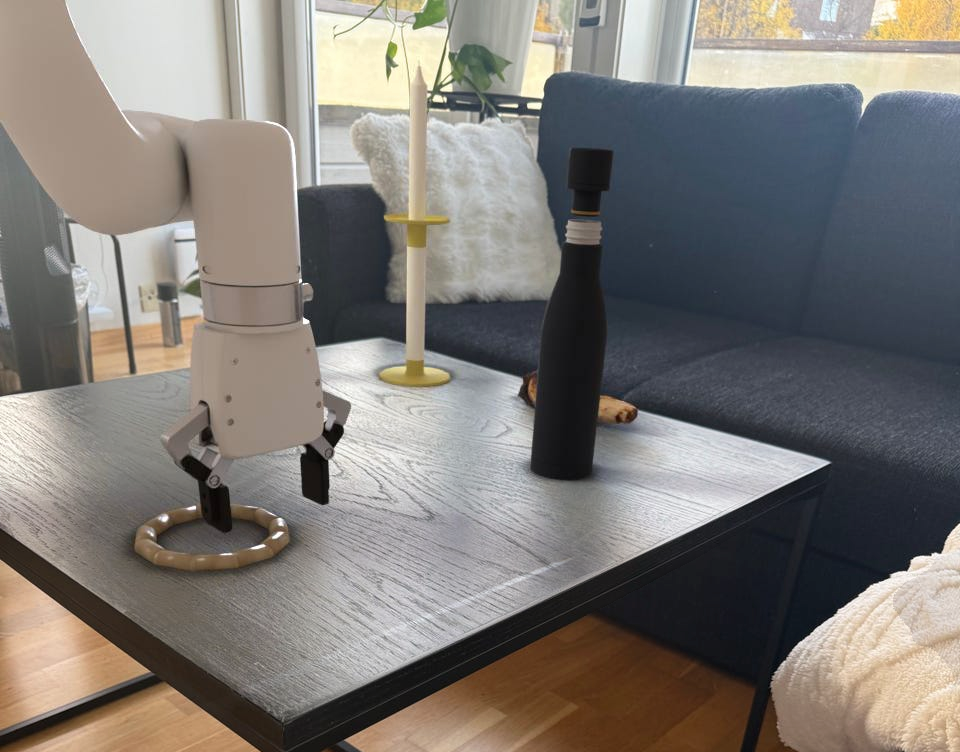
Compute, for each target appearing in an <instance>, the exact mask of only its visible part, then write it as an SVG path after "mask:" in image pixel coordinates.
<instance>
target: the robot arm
mask: <svg viewBox="0 0 960 752" xmlns="http://www.w3.org/2000/svg"><path fill="white" fill-rule="evenodd" d="M0 124H1V125H2V128H4V130H5V132H6V134H7V135H8V136H9V138H10V140H11V141H12V143H13V145H14V146H15V148H16V149H17V151H18V152H19V154H20V156H21V157H22V158H23V160H24V162H25V163H26V165H27V167H28V168H29V169H30V171H31V172H32V174H33V176H34V177H35V178H36V180H37V182H38V183H39V184H40V185H41V187H42V188H43V189H44V191H45V192H46V193H47V195H48V196H49V198H50V199H51V200H52V201H53V202H54V203H55V204H56V205H57V206H58V207H59V208H60V209H61V211H63V212H64V214H66V215H67V216H68V217H69V218H70V219H72V220H73V221H74V222H76V223H77V224H79V225H80V226H82V227H84V228H86V229H87V230H89V231H92V232H95V233H97V234H98V233H99V234H102V235H107V236H123V235H130V234H134V233H137V232H141V231H144V230H149V229H154V228H158V227H163V226H167V225H171V224H175V223H183V222H192V221H193V228H194V237H195V239H194V240H195V249H196V258H197V267H198V277H199V286H200V294H201V304H202V313H203V322H199V323H195V324H194V325H193V331H192V338H191V348H190V361H189V362H190V364H189V365H190V366H189V387H190V388H189V389H190V391H189V392H190V394H189V395H190V411H188V412H187V413H186V414H185V415H184V416H182V417H181V418H180V419H179V420H177V421H176V422H175V423H174V424H173V425H171V426H170V427H169V428H168V429H166V430H165V431H164V432H163V433H162V434H160V437H159V441H160V443H161V445H162V446H163V448H164V449H165V451H166V452H167V453H168V454H169V456H170V458H172V460H173V462H174V464H175V465H176V467H178V468H180V469H181V470H182V471H184V472H185V473H186V474H187V475H189V476H190V477H191V478H192V479H194V480H196V481H197V487H198V494H199V495H198V496H199V505H201V512H202V516H203V518H202V519H203V520H204V521H205V522H206V523H207V525H209V526H211V527H212V528H214V529H216V530H217V531H219V532H221V533H223V534H227V533H231V532H232V530H233V517H232V516H231V506H230V503H231V497H230V495H231V494H230V489H229V487H228V485H226V484H224V483H222V482H223V480H224V479H225V477H226V475H227V473H228V472H229V470H230V469H231V466H232V465H233V463H234V461H236V460H243V459H248V458H252V457H257V456H262V455H266V454H271V453H275V452H280V451H285V450H288V449H292V448H297V447H300V446H301V447H302V448H303V449H304V450H305V452H301V453H300V457H299V465H300V467H299V468H300V480H301V483H300V484H301V494H302V497H303V498H305V499H308V500H309V501H312V502H314V503H316V504H318V505H320V506H326V505H329V504H330V492H329V491H330V487H331V486H330V463H329V461H330V460H332V459H333V458H334V457H335V454H336V451H335V449H336V446H337V445H338V444H339V442H340V440H341V439H342V438H343V436H344V434H345V428H344V426H345V425H346V424H347V421H348V418H349V415H350V412H351V409H352V404H351V402H350V401H348V400H346V399H344V398H341V397H339V396H337V395H335V394H333V393H330V392H327V391H326V390H324V389H323V383H322V373H321V369H320V361H319V356H318V351H317V346H316V342H315V338H314V334H313V330H312V326H311V323H310V321H309V320H308V319H306V318H304V313H305V307H304V305H305V302H311V301H313V299H314V289H313V287H312V285H311V284H310V283H306V282H305V283H303V278H302V265H301V262H302V261H301V243H300V242H301V241H300V224H299V222H300V221H299V204H298V186H297V185H298V183H297V166H296V152H295V144H294V140H293V138H292V136H291V134H290V132H289V131H288V129H286V127H284V126H282V125H281V124H279V123H276V122H272V121H265V120H253V119H237V118H235V119H233V118H231V119H230V118H206V119H200V120H191V119H187V118H183V117H177V116H173V115H169V114H164V113H159V112H153V111H146V110H145V111H141V110H139V111H138V110H132V109H121V108H120V107H119V105H118V104H117V102H116V100H115V98H114V97H113V95H112V93H111V91H110V90H109V88H108V87H107V85H106V83H105V81H104V79H103V77H102V76H101V75H100V73H99V71H98V70H97V68H96V66H95V64H94V63H93V60H92V59H91V57H90V55H89V53H88V52H87V49H86V47H85V46H84V43H83V41H82V39H81V37H80V35H79V33H78V30H77V29H76V26H75V24H74V21H73V19H72V15H71V13H70V10H69V6H68V2H67V0H0ZM325 409H327V415H326V420H325ZM193 439H194V442H195V443H196V445H198V446H199V447H201V450H200V452H199V454H198V456H197V457H195V456H194V454H193V453H192V451H191V450H190V447H189V443H190V442H191V441H192V440H193Z"/></svg>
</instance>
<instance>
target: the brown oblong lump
mask: <svg viewBox="0 0 960 752" xmlns="http://www.w3.org/2000/svg"><path fill="white" fill-rule="evenodd" d="M537 374H538V370H535V371H532V370H531V371H530V372H528V373H527V374H525V375H522V376H521V378H522V384H520V387H519V391H518V393H517V397H519V398H520V399H521V400H522V401H523V402H524V403H525V405H526V406H529V407H535V400H536V387H537ZM638 413H639V410H638V408H637V407H636V406H634V405H633V404H631V403H628V402H625V401H622V400H619V399H617V398H614V397H612V396H608V395H600V404H599V412H598V421H597V424H598V423H599V424H606V425H620V424H622V423H623V424H625V425H627V424H631V423H633V422H634V421H635V420H636V419H637V418H638Z"/></svg>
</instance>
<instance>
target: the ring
mask: <svg viewBox="0 0 960 752" xmlns="http://www.w3.org/2000/svg"><path fill="white" fill-rule="evenodd" d="M230 506H231V516H232V519H239V520H245V521H246V520H248V521H253V522H254V523H256V524H258V525H260V526H261V527H263V528H265V529H267V530H268V537H267V538H265V540H263V541H262V542H260V544H257V545H254V546H251V547H246V548H244V549H240V550H237V551H234V552H228V553H227V552H226V553H211V554H190V553H184V552H179V551H172V550H168V549H166V548H163V546H161V545H159V544H158V543H157V539H158V538H157V537H158V536H159V535H160V534H162V533H163V532H164V531H166V530H168V529H169V528H170V527H172V526H174V525H177V524H182V523H184V522H185V523H186V522H189V521H193V520H196V519H204V518H203V516H202V512H201V504H193V505H188V506H184V507H181V508H177V509H172V510H169V511H165V512H162V513H160V514H158V515H156V516H155V517H153V518H152V519H150V520H149V521H147V522H145V523H144V524H142V525H140V526H139V527H138V528H137V530H136V533H135V540H134V547H133V548H134V551H135V553H137V554H139V555H140V556H141V557H143V558H144V559H145V560H147V561H149V562H150V563H152V564H154V565H155V566H163V567H168V568H174V569H179V570H186V571H191V572H192V571H194V572H196V571H197V572H198V571H211V570H227V569H228V570H229V569H237V568H241V567H245V566H248V565H251V564H254V563H257V562H261V561H263V560H267V559H270V558H273V557H274V556H275V555H277V554H278V553H279V552H280V551H281V550H283V548H285V547H286V546H287V545H288V544H289V543H290V542H291V537H290V532H289V528H288V524H287V522H286V521H285V519H283V518H281V517H279V516H278V515H276V514H273V512H270V511H268V510H267V509H264V508H262V507H257V506H250V505H249V506H248V505H242V504H236V503H231V502H230Z"/></svg>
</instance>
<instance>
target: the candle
mask: <svg viewBox="0 0 960 752" xmlns="http://www.w3.org/2000/svg"><path fill="white" fill-rule="evenodd" d="M417 63H418V65H416V70H415V75H414V78H413V80H412V82H411V83H410V84H409V137H408V138H409V142H408V143H409V144H408V145H409V146H408V148H409V149H408V150H409V153H408V213H389V214H385V215H384V214H383V219H384V221H387V222H389V223H394V224H404V225H406V319H405V320H406V323H405V325H406V327H405V328H406V329H405V330H406V331H405V336H406V337H405V342H406V343H405V365H404V366H393V367H389V368H385V369H383V370H382V371H380V372H379V374H378V376H379V379H380V380H381V381H384V383H388V384H392V385H396V386H405V387H435V386H440V385H444V384H447V383H449V382H450V380H451V379H452V378H451V376H450V373H448V372H446V371H444V370H443V369H439V368H434V367H428V366H425V339H426V337H425V336H426V335H425V334H426V333H425V332H426V330H425V329H426V327H425V326H426V278H427V277H426V276H427V275H426V273H427V226H439V225H446V224H449V223H450V222H451V218H449V217H447V216H441V215H435V214H426V193H427V192H426V191H427V186H426V185H427V139H428V138H427V137H428V136H427V133H428V132H427V130H428V129H427V128H428V84H427V83H426V82H425V79H424V76H423V72H422V67H421V66H420V60H417Z"/></svg>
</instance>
